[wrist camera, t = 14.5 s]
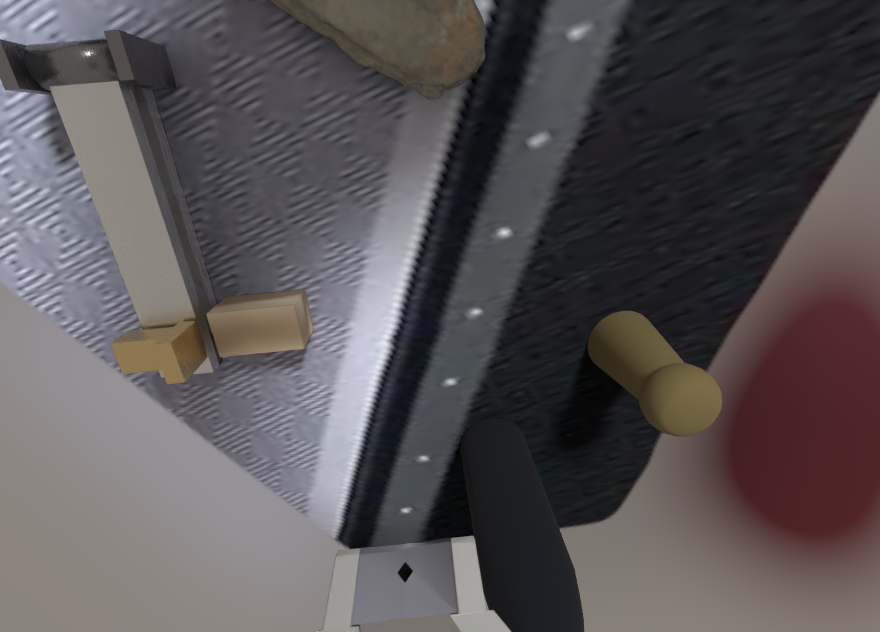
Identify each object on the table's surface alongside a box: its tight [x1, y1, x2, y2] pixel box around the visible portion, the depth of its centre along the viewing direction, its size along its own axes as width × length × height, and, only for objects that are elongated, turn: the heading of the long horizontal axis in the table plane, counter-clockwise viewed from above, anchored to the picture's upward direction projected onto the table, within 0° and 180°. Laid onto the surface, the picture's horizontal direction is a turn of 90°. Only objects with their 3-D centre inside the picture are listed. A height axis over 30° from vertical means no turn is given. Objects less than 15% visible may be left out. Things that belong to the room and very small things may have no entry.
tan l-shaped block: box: [110, 321, 208, 384], centre depth 30 cm, size 3×5×4 cm, turn 95°
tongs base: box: [0, 30, 223, 358], centre depth 30 cm, size 22×7×5 cm, turn 5°
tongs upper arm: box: [23, 39, 223, 378], centre depth 30 cm, size 22×5×2 cm, turn 5°
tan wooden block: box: [206, 289, 313, 357], centre depth 34 cm, size 4×6×4 cm, turn 95°
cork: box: [587, 311, 722, 436], centre depth 34 cm, size 6×6×11 cm
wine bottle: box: [460, 418, 584, 632], centre depth 29 cm, size 6×6×30 cm
